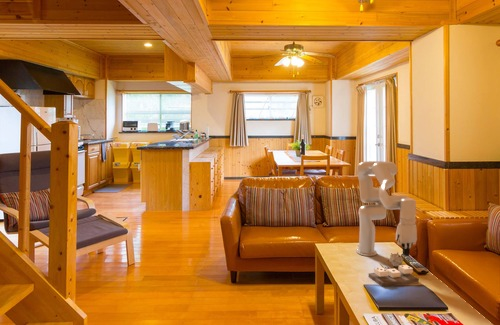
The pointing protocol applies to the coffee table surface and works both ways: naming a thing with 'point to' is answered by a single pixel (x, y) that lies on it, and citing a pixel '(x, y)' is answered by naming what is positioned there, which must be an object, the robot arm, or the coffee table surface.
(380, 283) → the brown board
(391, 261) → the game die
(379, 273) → the three dot tile
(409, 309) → the coffee table surface
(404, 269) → the two pip cube
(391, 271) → the single pip block
